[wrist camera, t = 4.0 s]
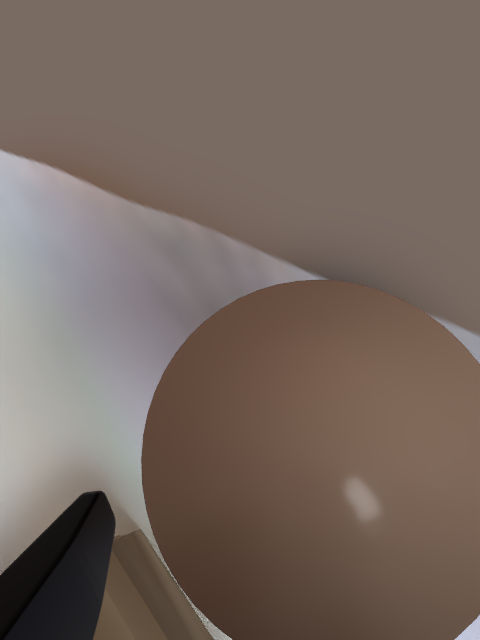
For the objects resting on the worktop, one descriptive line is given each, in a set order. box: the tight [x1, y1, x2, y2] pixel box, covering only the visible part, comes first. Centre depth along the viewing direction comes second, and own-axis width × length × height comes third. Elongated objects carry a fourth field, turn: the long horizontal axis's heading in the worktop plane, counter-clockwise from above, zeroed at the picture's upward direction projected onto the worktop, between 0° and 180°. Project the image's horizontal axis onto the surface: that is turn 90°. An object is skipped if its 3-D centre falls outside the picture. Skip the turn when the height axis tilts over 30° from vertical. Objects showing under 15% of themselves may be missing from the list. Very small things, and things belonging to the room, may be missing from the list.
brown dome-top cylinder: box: [141, 280, 480, 640], centre depth 11 cm, size 5×5×12 cm
